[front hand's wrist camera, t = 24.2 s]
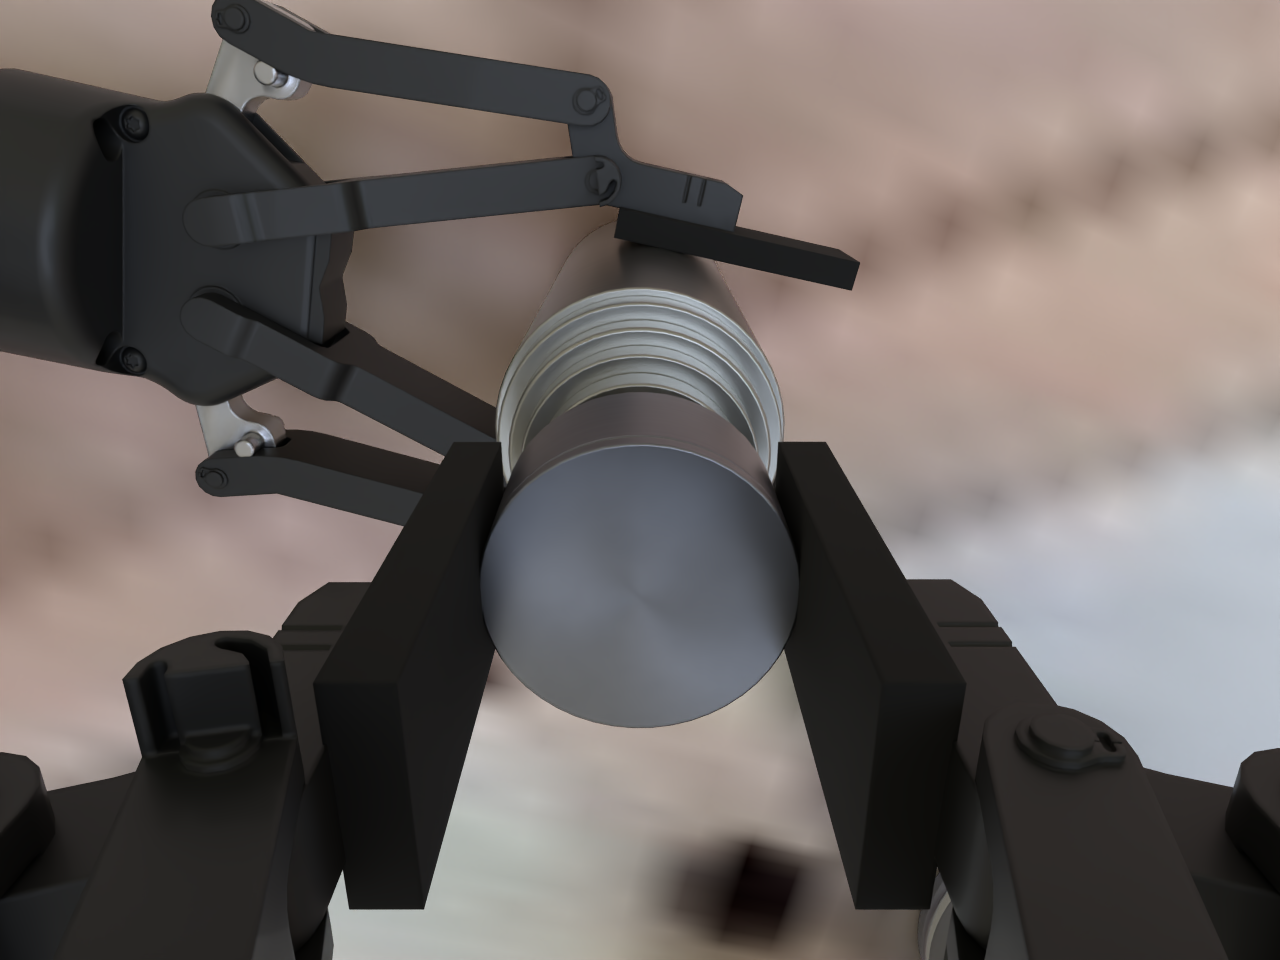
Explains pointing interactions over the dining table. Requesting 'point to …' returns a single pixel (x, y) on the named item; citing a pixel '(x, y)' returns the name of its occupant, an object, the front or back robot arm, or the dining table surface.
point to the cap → (639, 563)
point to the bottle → (638, 345)
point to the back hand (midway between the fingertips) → (809, 383)
